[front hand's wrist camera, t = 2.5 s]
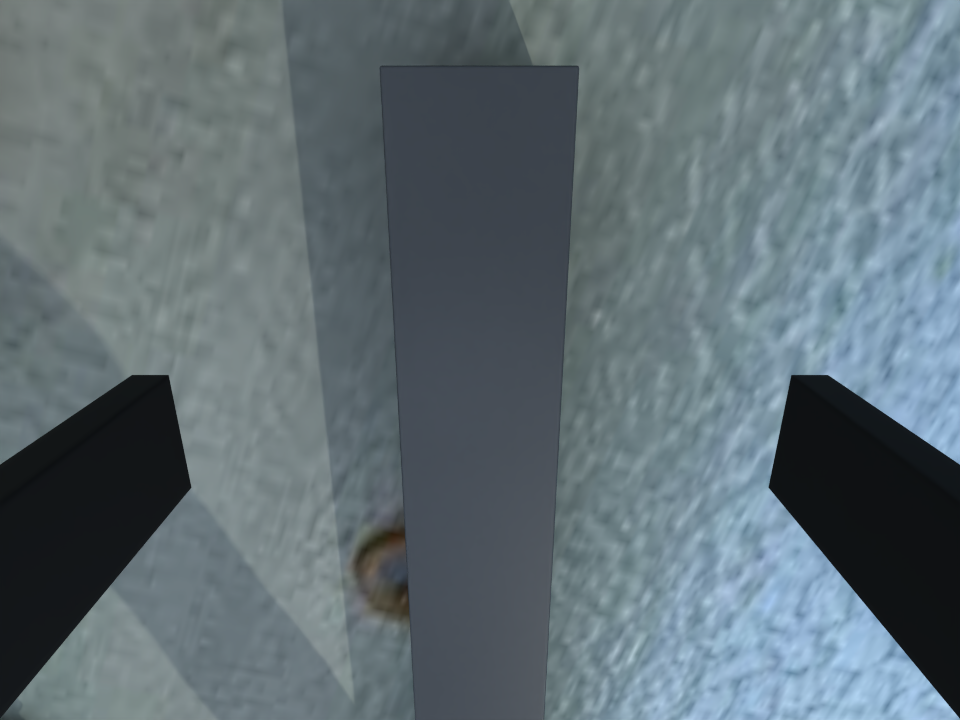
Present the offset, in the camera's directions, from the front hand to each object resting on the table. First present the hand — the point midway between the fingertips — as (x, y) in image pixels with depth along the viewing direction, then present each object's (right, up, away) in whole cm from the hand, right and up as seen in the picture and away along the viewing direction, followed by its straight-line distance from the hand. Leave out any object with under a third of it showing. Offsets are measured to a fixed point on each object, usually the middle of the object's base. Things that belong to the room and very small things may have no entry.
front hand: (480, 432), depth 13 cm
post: (0, -18, +20) cm, 27 cm away
